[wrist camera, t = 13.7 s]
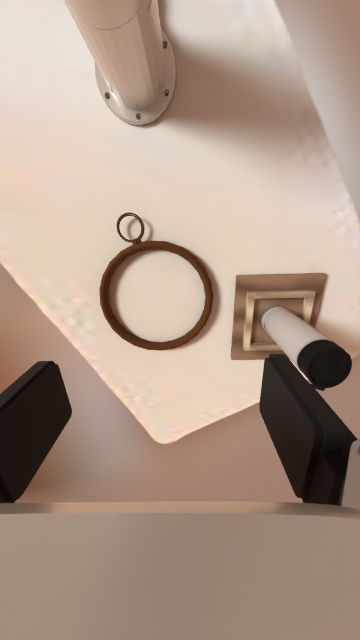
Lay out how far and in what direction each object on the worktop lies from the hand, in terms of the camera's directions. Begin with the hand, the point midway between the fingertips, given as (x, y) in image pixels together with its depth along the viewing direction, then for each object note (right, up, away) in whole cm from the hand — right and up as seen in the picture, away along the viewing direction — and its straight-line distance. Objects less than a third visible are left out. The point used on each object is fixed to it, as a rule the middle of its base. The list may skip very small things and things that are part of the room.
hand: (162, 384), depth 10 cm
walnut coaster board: (+22, +3, +39) cm, 45 cm away
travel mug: (+22, +3, +38) cm, 44 cm away
